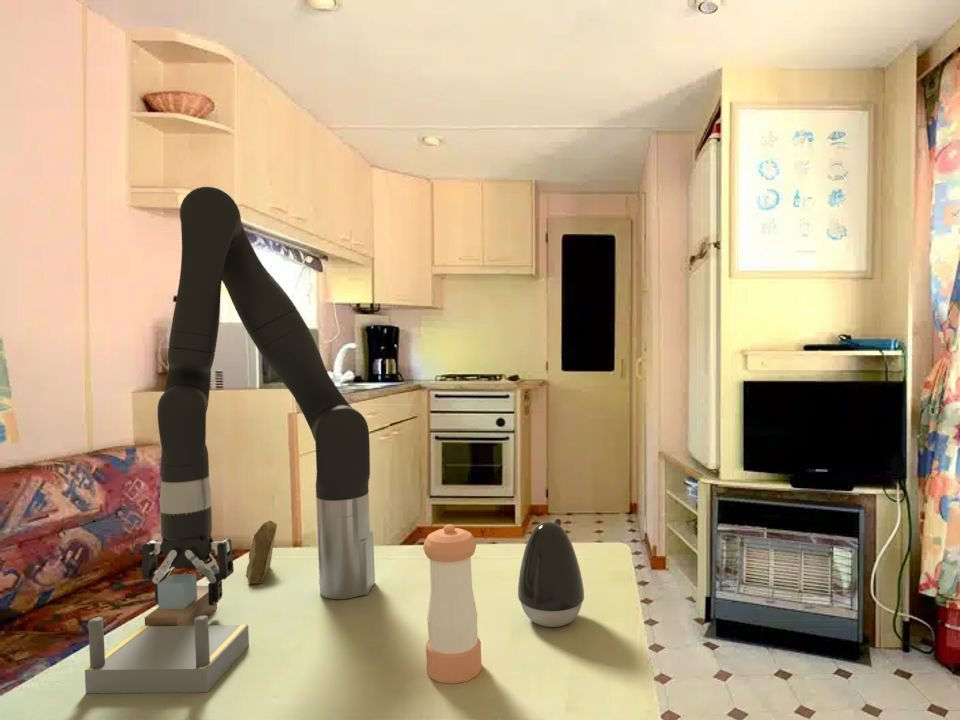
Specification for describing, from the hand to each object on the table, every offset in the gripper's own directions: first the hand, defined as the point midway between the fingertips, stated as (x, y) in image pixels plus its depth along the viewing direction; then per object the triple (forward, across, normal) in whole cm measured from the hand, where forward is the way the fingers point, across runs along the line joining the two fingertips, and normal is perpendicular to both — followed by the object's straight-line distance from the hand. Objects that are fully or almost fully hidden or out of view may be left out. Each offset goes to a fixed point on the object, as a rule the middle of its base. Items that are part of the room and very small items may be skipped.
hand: (188, 603), depth 97 cm
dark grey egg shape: (+2, -59, +3) cm, 59 cm away
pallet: (+3, 0, +2) cm, 3 cm away
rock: (+2, -3, -18) cm, 19 cm away
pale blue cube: (-2, 0, +4) cm, 4 cm away
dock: (+2, -6, +16) cm, 17 cm away
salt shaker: (+2, -45, +17) cm, 48 cm away
